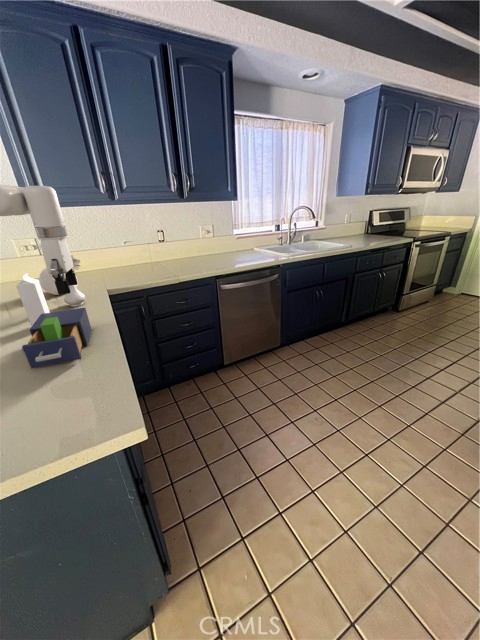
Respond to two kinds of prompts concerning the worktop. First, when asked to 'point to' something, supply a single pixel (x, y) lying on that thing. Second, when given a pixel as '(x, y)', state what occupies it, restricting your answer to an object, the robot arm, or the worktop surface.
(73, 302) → the flower vase
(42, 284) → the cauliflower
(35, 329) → the cabinet
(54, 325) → the green rectangular box
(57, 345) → the drawer
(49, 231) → the robot arm
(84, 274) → the worktop surface
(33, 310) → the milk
